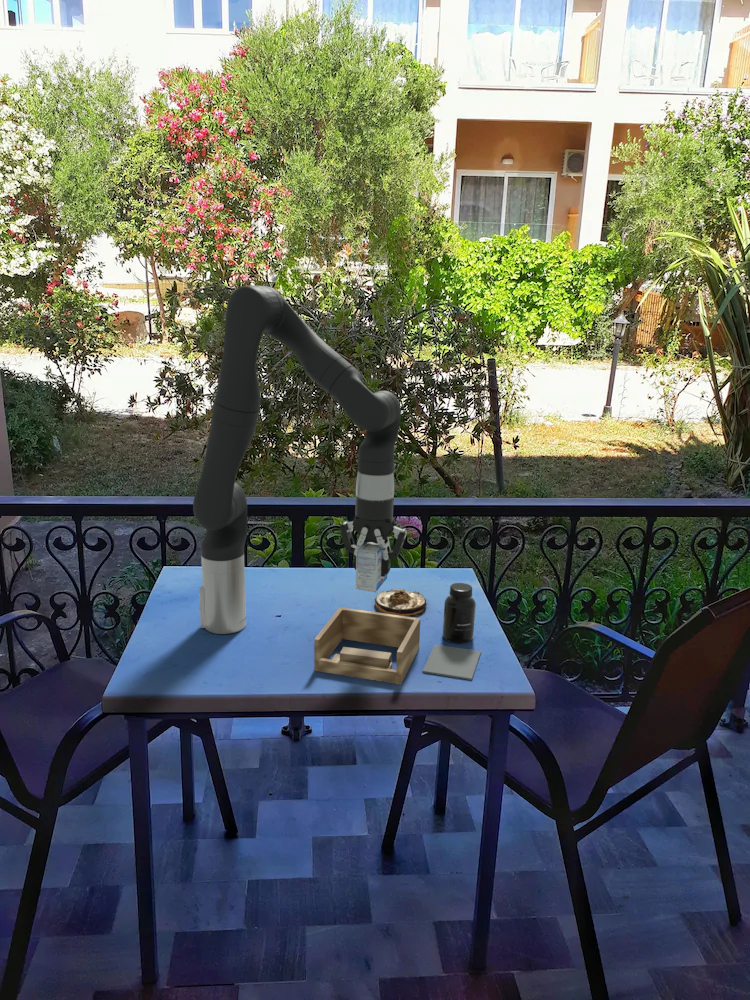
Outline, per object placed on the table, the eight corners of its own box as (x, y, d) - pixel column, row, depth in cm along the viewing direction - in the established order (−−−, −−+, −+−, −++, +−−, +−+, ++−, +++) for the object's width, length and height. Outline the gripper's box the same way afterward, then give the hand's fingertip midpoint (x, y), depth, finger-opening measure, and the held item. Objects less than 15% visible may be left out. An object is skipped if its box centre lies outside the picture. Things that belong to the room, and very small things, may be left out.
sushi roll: (426, 624, 184) (427, 607, 183) (363, 617, 188) (363, 600, 186) (436, 599, 198) (437, 583, 197) (377, 592, 201) (378, 577, 200)
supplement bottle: (461, 647, 173) (464, 595, 170) (436, 637, 177) (438, 587, 174) (479, 636, 178) (482, 586, 175) (454, 627, 182) (457, 578, 179)
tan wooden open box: (314, 670, 162) (314, 639, 160) (339, 636, 177) (339, 607, 175) (400, 684, 157) (401, 652, 155) (419, 648, 172) (420, 618, 170)
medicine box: (376, 593, 160) (377, 552, 157) (354, 589, 161) (356, 549, 159) (387, 578, 167) (389, 539, 165) (367, 575, 169) (368, 536, 166)
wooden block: (330, 669, 163) (330, 651, 161) (336, 661, 166) (336, 644, 164) (388, 678, 160) (388, 660, 158) (392, 670, 163) (392, 653, 161)
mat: (422, 672, 162) (422, 670, 162) (434, 646, 173) (434, 644, 173) (471, 680, 160) (471, 678, 159) (480, 653, 171) (481, 651, 171)
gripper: (334, 494, 157) (332, 575, 162) (405, 502, 153) (401, 585, 158) (346, 484, 164) (344, 562, 169) (414, 492, 160) (410, 571, 165)
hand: (372, 573), depth 164 cm, fingers closed on medicine box, 4 cm apart
